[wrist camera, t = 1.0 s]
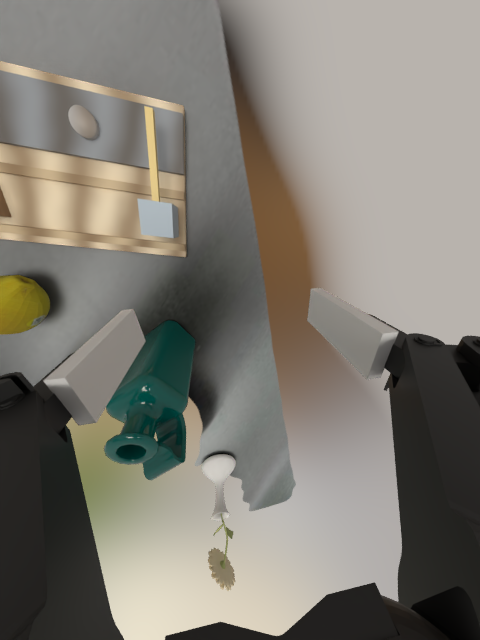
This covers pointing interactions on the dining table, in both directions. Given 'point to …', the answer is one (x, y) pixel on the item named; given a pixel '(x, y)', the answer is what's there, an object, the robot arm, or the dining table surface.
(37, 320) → the lemon
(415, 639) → the robot arm
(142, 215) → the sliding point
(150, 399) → the pitcher
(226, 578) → the flower in vase
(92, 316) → the dining table surface
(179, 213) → the gauge board
